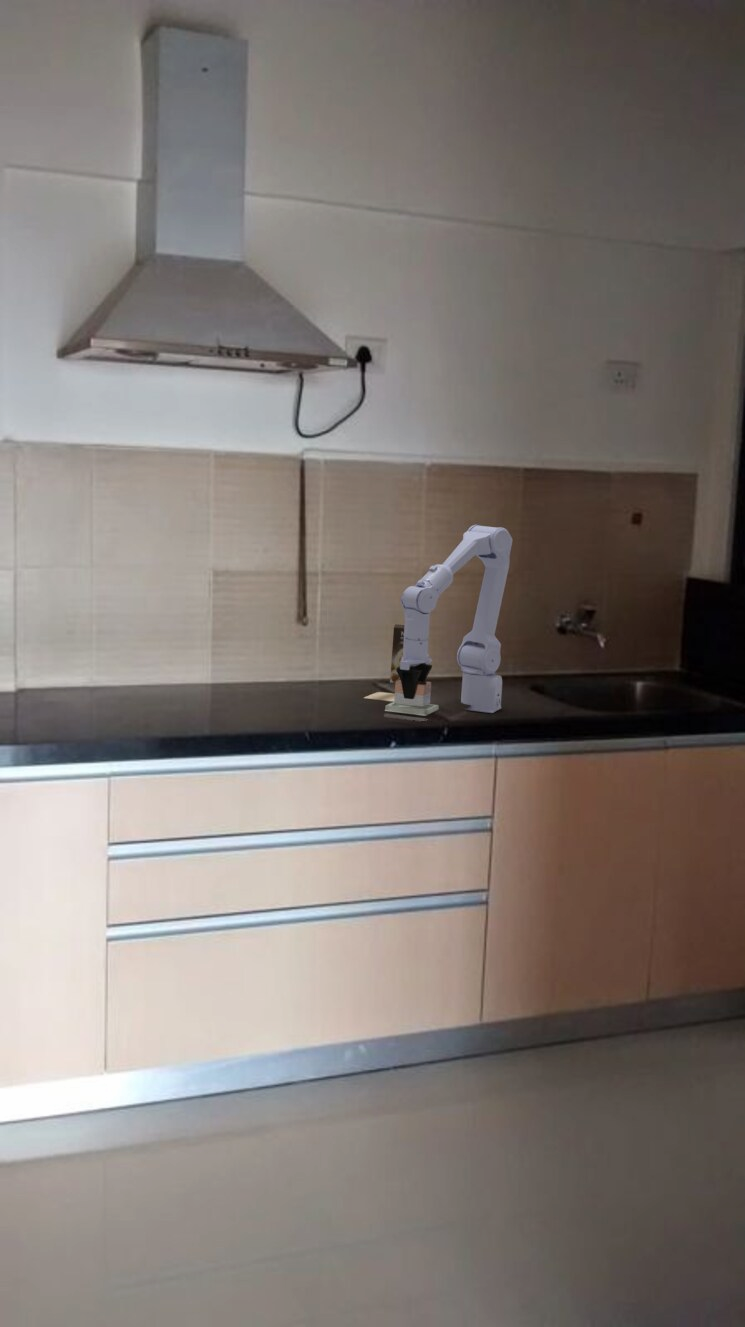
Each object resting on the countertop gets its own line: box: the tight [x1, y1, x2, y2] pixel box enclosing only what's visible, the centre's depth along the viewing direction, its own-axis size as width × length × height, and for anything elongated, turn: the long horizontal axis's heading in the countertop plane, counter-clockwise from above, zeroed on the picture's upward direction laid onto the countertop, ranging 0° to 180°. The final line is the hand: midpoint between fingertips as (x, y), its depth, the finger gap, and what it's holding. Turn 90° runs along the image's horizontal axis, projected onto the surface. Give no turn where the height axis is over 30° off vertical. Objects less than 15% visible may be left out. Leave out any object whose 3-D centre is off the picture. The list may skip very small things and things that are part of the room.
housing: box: [394, 680, 432, 707], centre depth 307 cm, size 5×7×5 cm
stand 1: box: [363, 691, 395, 703], centre depth 322 cm, size 10×10×2 cm
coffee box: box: [389, 623, 427, 684], centre depth 344 cm, size 9×6×16 cm
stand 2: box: [383, 701, 440, 722], centre depth 307 cm, size 10×10×2 cm
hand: (412, 696), depth 307 cm, fingers closed on housing, 5 cm apart
